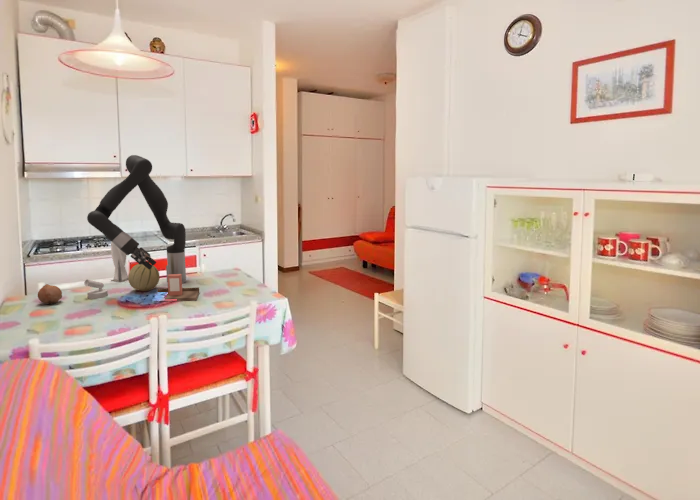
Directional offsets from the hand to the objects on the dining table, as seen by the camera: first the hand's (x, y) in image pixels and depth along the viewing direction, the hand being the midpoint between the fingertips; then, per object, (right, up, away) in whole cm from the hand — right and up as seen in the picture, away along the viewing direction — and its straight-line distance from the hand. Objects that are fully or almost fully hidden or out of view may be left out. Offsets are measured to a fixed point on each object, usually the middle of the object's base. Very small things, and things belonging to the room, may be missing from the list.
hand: (153, 266), depth 216 cm
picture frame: (+9, -14, +5) cm, 18 cm away
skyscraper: (-34, -9, +36) cm, 50 cm away
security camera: (-30, -15, +4) cm, 34 cm away
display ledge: (+9, -16, +5) cm, 19 cm away
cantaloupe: (-11, -14, +16) cm, 24 cm away
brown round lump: (-44, -17, -8) cm, 48 cm away
